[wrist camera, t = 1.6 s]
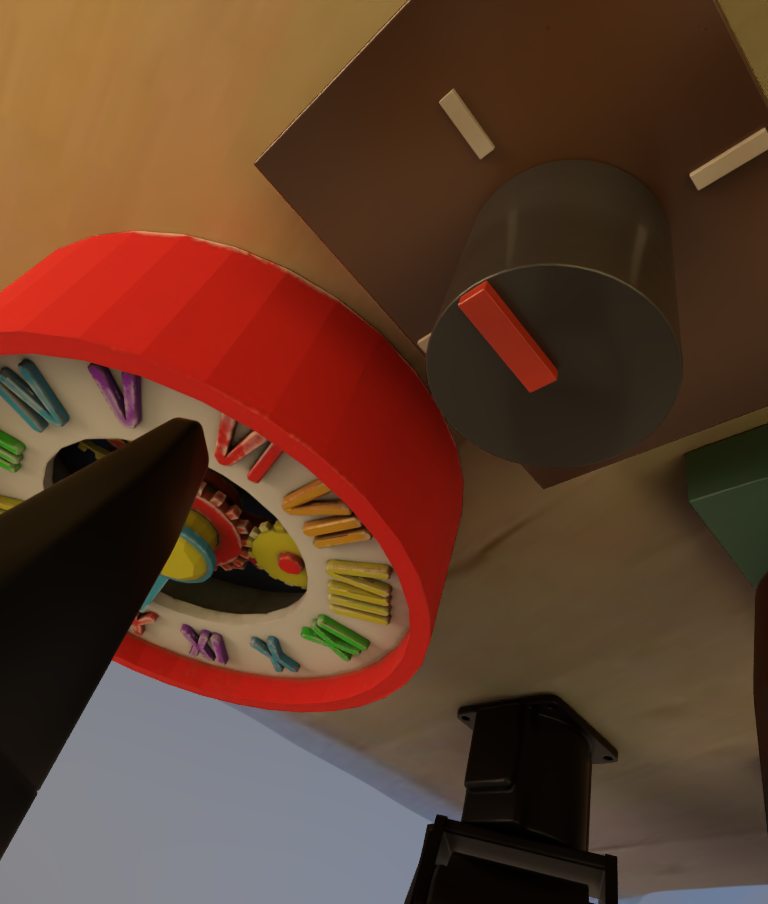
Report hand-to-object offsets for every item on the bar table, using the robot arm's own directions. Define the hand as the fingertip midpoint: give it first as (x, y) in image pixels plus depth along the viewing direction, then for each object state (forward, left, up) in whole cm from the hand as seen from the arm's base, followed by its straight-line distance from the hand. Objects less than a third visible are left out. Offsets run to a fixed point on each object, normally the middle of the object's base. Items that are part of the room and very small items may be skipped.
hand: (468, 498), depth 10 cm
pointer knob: (0, -1, -7) cm, 7 cm away
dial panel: (0, -1, -10) cm, 10 cm away
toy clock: (-1, +16, -10) cm, 19 cm away
